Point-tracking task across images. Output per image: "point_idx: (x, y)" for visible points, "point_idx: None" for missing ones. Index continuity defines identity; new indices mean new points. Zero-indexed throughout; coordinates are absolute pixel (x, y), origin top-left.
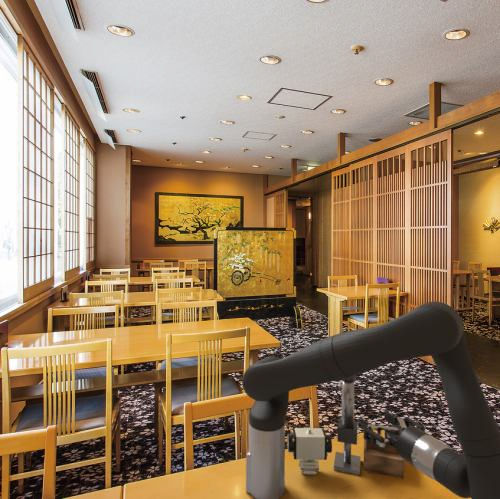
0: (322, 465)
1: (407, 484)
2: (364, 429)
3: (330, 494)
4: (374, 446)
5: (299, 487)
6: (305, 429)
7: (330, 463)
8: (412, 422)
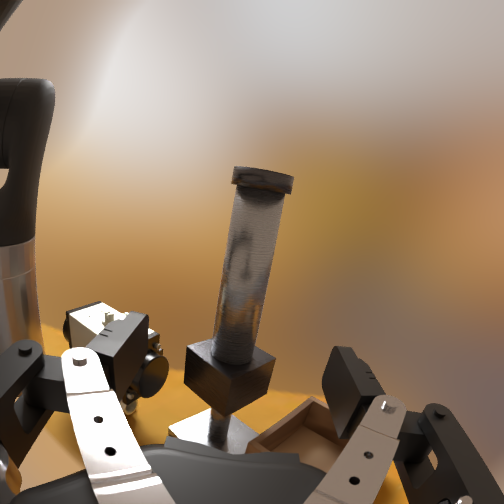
0: (159, 413)
1: None
2: (11, 347)
3: (84, 466)
4: (323, 429)
5: (56, 412)
6: (115, 315)
7: (182, 419)
8: (456, 458)
